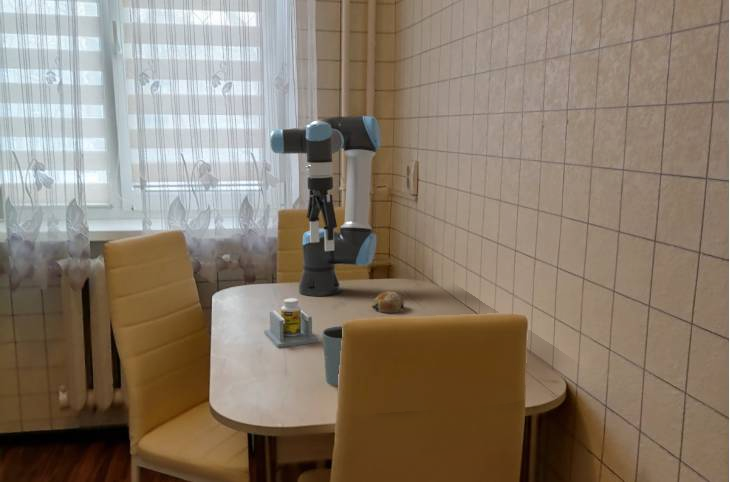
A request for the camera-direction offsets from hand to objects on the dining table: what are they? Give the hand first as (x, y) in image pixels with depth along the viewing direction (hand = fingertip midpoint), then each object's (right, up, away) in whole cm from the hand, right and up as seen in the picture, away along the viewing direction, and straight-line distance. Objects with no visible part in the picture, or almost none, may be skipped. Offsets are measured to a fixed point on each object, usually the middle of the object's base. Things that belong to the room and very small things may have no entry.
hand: (322, 246), depth 201 cm
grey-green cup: (+8, -32, -41) cm, 53 cm away
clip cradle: (-8, -26, -9) cm, 29 cm away
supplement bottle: (-8, -25, -9) cm, 28 cm away
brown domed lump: (+21, -21, +20) cm, 36 cm away
